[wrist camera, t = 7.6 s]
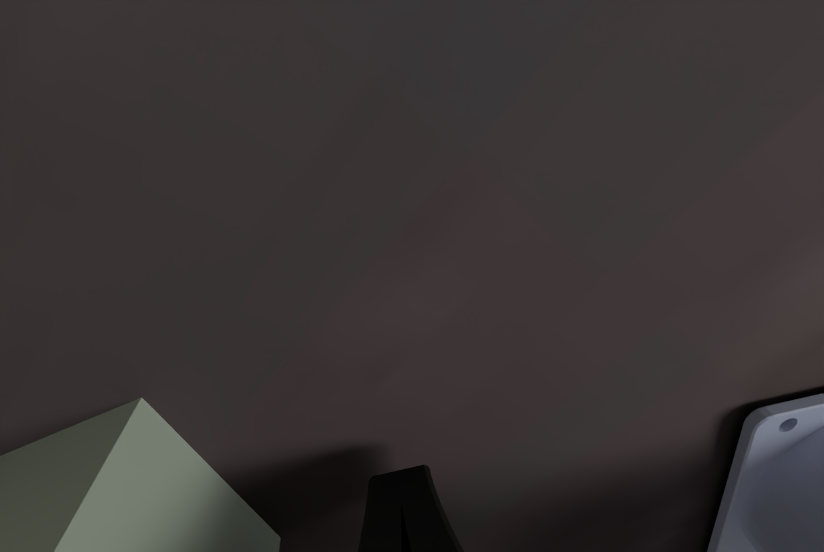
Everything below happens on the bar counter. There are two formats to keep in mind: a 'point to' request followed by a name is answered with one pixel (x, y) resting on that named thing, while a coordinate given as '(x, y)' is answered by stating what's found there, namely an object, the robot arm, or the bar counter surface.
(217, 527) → the sage block
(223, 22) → the bar counter surface
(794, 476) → the robot arm
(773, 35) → the bar counter surface
